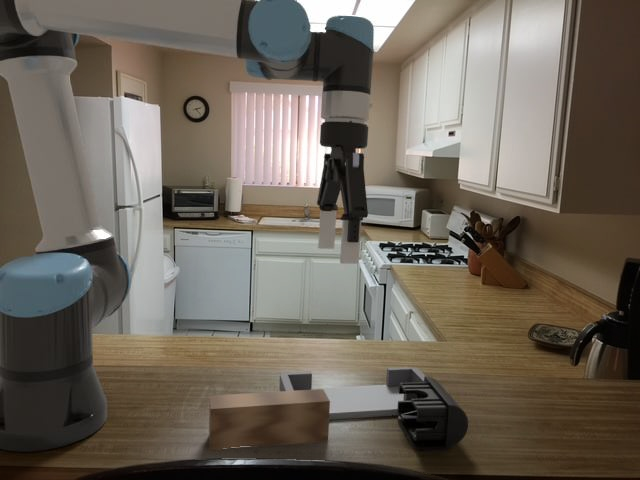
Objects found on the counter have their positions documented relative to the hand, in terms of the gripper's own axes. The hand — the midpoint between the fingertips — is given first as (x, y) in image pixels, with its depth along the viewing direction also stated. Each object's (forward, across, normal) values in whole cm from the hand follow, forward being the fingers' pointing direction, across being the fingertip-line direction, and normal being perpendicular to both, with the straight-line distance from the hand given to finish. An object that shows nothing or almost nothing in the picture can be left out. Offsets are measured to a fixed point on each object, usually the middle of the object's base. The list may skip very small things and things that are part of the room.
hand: (336, 255), depth 87 cm
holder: (+23, -6, -3) cm, 24 cm away
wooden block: (+24, -14, +12) cm, 30 cm away
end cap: (+23, -17, -10) cm, 30 cm away
